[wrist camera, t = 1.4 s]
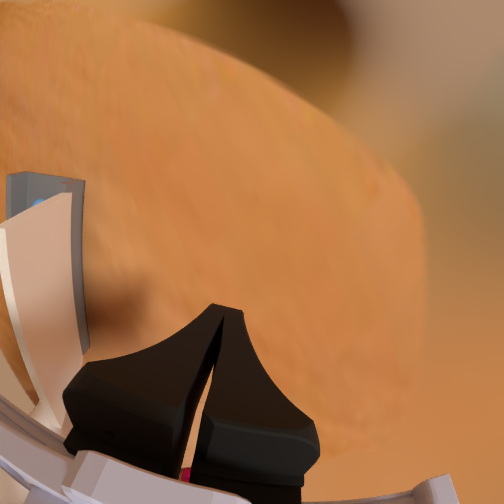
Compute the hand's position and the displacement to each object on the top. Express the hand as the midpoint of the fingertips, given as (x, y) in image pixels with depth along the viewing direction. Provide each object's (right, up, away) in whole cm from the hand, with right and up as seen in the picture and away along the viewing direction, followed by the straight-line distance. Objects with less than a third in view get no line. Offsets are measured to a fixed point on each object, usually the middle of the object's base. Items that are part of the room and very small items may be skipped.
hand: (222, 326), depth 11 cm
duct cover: (-14, -2, +5) cm, 15 cm away
